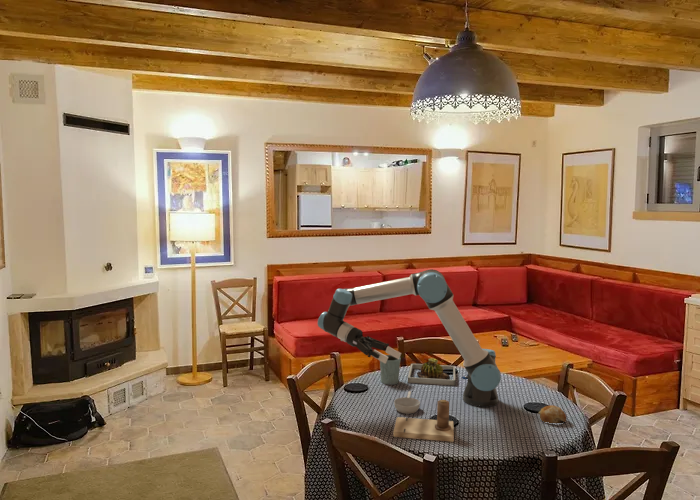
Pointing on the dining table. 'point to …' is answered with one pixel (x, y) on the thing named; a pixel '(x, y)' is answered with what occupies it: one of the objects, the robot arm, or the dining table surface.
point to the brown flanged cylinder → (443, 416)
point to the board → (421, 429)
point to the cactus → (432, 370)
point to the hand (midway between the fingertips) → (393, 358)
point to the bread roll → (552, 414)
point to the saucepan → (407, 404)
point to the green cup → (390, 370)
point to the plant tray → (429, 380)
